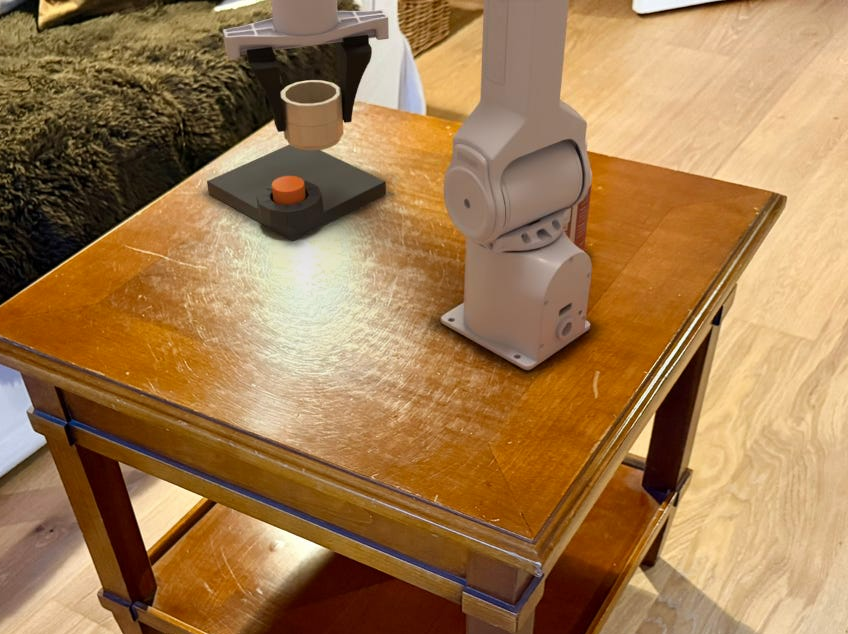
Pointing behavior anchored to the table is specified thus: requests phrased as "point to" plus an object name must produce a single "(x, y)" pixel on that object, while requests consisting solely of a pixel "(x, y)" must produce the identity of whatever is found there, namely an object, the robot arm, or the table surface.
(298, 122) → the beige hollow cylinder
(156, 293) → the table surface
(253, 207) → the scale
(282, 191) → the button
